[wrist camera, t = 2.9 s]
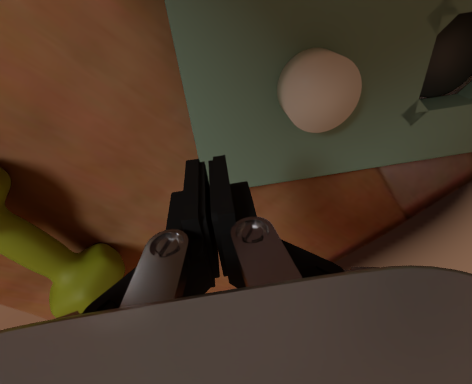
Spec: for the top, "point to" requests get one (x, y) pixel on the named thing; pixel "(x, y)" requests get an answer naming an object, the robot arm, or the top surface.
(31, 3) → the top surface
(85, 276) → the dumbbell
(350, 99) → the pink rounded pebble
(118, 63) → the top surface
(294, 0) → the board
